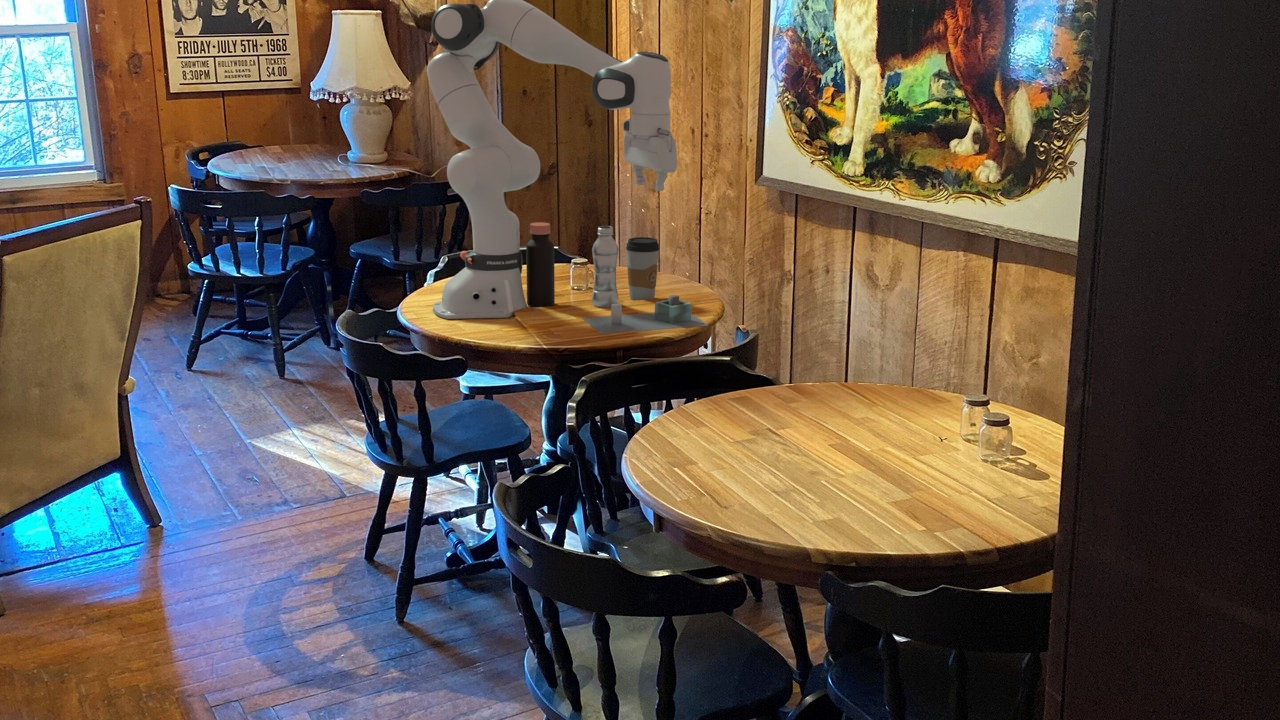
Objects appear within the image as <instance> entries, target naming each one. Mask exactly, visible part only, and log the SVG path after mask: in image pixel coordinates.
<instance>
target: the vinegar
mask: <svg viewBox="0 0 1280 720" xmlns="http://www.w3.org/2000/svg"><path fill="white" fill-rule="evenodd" d="M529 234H530V235H529V236H530V237H531V238H530V240H529V241H528V242H527V243H526V245H525V246H526V249H525V252H526V253H525V255H526V257H525V258H526V260H525V261H526V304H527V306H529V307H531V308H545V307H546V308H547V307H552V306H554V305H555V299H556V298H555V295H556V294H555V293H556V292H555V285H556V284H555V244H554V242H553V241H552V240H551V239H550V236H551V223H549V222H543V221H542V222H532V223H529Z"/></svg>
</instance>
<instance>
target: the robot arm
mask: <svg viewBox="0 0 1280 720" xmlns="http://www.w3.org/2000/svg"><path fill="white" fill-rule="evenodd" d="M430 22H431V25H430V26H431V27H430V28H431V33H432V35H433V37H434V39H435V40H436V42H437V44H438V45H440V47H442V50H441V52H440V53H439V54H437V55H435V56H433V58H432V59H431V60H429V62H428V64H427V67H426V75H427V79H428V83H429V88H430V89H431V92H432V95H433V99H434V100H435V103H436V105H437V107H438V109H439V112H440V113H441V115H442V117H443V119H444V121H445V123H446V126H447V128H448V130H449V132H450V134H451V135H452V136H453V137H454V139H456V140H457V141H459V142H461V143H463V144H465V145H466V146H468V147H469V148H468V149H465V150H463V151H460V152H457V153H456V154H454V155H452V157H451V158H450V160H449V161H448V163H447V168H446V176H447V177H446V178H447V181H448V182H449V183H448V184H449V185H450V187H451V188H452V190H453V191H454V192H455V193H456V194H458V196H460V197H461V198H462V200H463V201H464V203H465V205H466V207H467V209H468V212H469V216H470V221H471V230H472V248H473V249H472V250H471V251H470V252H469V253H468V251H466V250H462V251H461V252H460V255H459V256H460V258H461V259H462V260H463V261H464V263H465V264H464V265H465V267H464V268H462V269H461V270H460V271H459V272H458V273H456V274H455V275H454V276H453V277H451V278H450V279H449V280H447V282H445V284H444V286H443V289H442V297H441V300H440V301H437V302H435V303H434V304H432V305H433V306H432V311H433V312H434V314H435V315H436V316H438V317H440V318H443V319H447V320H450V319H451V320H452V319H453V320H455V319H456V320H457V319H459V320H460V319H496V318H499V319H502V318H506V319H507V318H510V317H512V316H514V315H515V311H519V310H521V309H528V304H527V300H526V297H525V294H524V288H523V281H522V271H523V254H522V250H520V248H521V247H520V245H521V244H520V241H521V240H520V239H521V238H520V220H519V217H518V216H517V214H515V212H513V211H511V210H510V209H509V208H508V206H507V205H506V200H505V197H504V193H505V192H506V193H507V192H512V191H518V190H521V189H523V188H526V187H528V186H529V185H532V184H534V183H536V181H537V180H538V179H539V176H540V173H541V161H540V158H539V155H538V154H537V152H536V150H534V148H533V147H531V146H529V145H527V144H525V143H523V141H522V142H521V141H520V139H518V138H517V137H516V136H514V135H513V134H512V132H511V131H509V130H508V128H506V127H505V125H504V124H503V123H502V122H501V121H500V120H499V118H498V117H497V115H496V114H495V112H494V111H493V108H492V106H491V105H490V102H489V100H488V99H487V97H486V95H485V93H484V91H483V89H482V87H481V85H480V83H479V81H478V79H477V76H476V74H475V71H477V70H480V69H481V68H482V67H483V66H484V65H485V63H487V62H488V61H490V60H491V59H492V58H493V57H494V56H495V55H496V53H497V52H498V50H499V47H500V43H501V44H502V45H504V46H506V47H508V48H509V49H511V50H512V51H514V52H515V53H517V54H519V56H522V57H523V58H525V59H527V60H530V61H533V62H536V63H538V64H546V65H547V64H548V65H549V64H550V65H563V66H568V67H573V68H576V69H579V70H580V71H582V72H584V73H586V74H587V75H589V76H591V77H593V78H592V81H591V86H590V87H591V90H590V91H591V95H592V97H593V100H594V101H595V103H596V104H597V105H598V106H599V107H600V108H603V109H605V110H609V111H610V110H611V111H613V110H614V111H615V110H623V109H629V108H630V110H631V116H630V117H628V118H627V119H626V120H624V121H622V126H621V127H622V131H623V132H624V133H623V157H624V161H625V162H626V163H629V164H632V169H633V173H634V177H635V184H636V185H639V186H644V185H645V184H646V177H645V175H644V168H645V169H649V170H652V171H655V176H656V179H655V182H653V189H654V191H657V192H663V191H664V190H665V182H666V180H667V177H668V174H669V173H675V172H676V171H677V168H678V151H677V144H676V140H675V138H674V136H673V135H672V132H671V108H670V99H671V96H672V71H671V65H670V62H669V61H670V60H669V59H668V58H667V57H666V56H664V55H663V54H660V53H656V52H651V51H638V52H636V53H635V54H634V55H632V56H631V57H630V58H628V59H626V60H624V61H623V60H620V59H618V58H616V57H615V56H612V55H610V54H609V53H608V52H606V51H604V50H602V49H600V48H598V47H597V46H595V45H593V44H592V43H590V42H588V41H586V40H584V39H582V38H581V37H580V36H578V35H577V34H575V33H574V32H572V31H571V30H569V29H568V28H567V27H565V26H564V25H562V23H561V24H560V23H559V22H558V21H557V20H555V19H554V18H552V17H551V15H548V14H547V13H545V12H544V11H542V10H541V9H539V8H537V7H536V6H534V5H533V4H531V3H529V2H527V1H525V0H488V1H487V3H486V4H485V5H484V7H481V8H480V7H479V6H478V5H477V4H476V3H446V4H444V5H442V6H440V7H439V8H438V9H437V10H436V11H435V12H434V14H433V15H432V19H431V21H430Z"/></svg>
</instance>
